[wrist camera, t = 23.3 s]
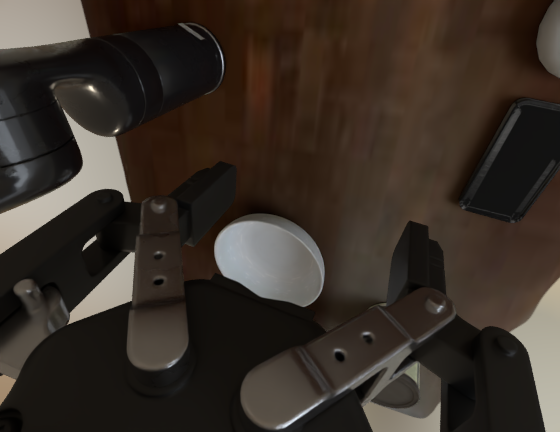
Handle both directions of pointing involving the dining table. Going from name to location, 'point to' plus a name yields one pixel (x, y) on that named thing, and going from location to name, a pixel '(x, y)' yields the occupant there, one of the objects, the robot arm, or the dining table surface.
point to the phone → (516, 162)
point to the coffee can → (400, 388)
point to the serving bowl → (271, 258)
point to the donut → (550, 39)
